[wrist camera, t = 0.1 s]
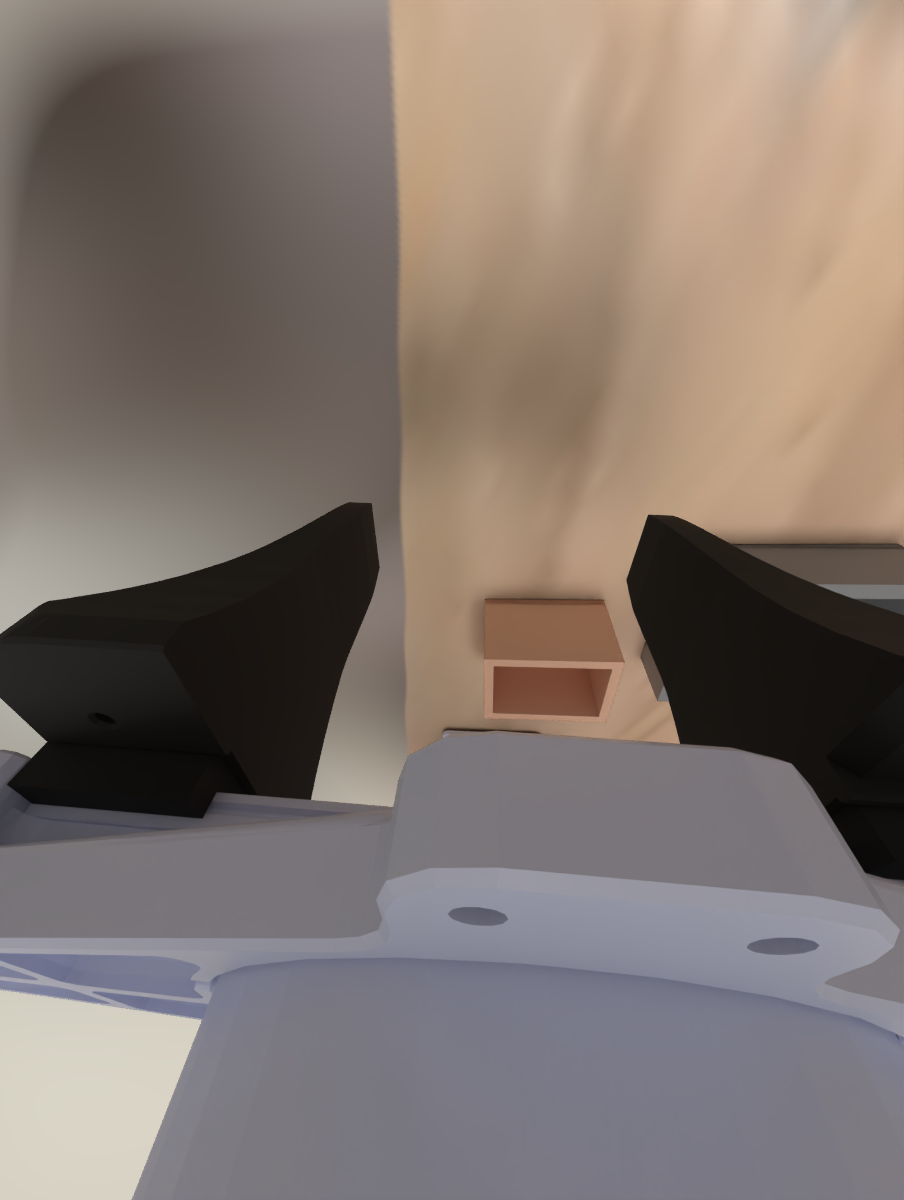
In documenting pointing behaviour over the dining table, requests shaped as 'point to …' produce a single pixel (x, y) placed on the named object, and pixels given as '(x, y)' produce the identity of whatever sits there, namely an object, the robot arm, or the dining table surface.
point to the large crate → (827, 577)
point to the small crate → (550, 660)
